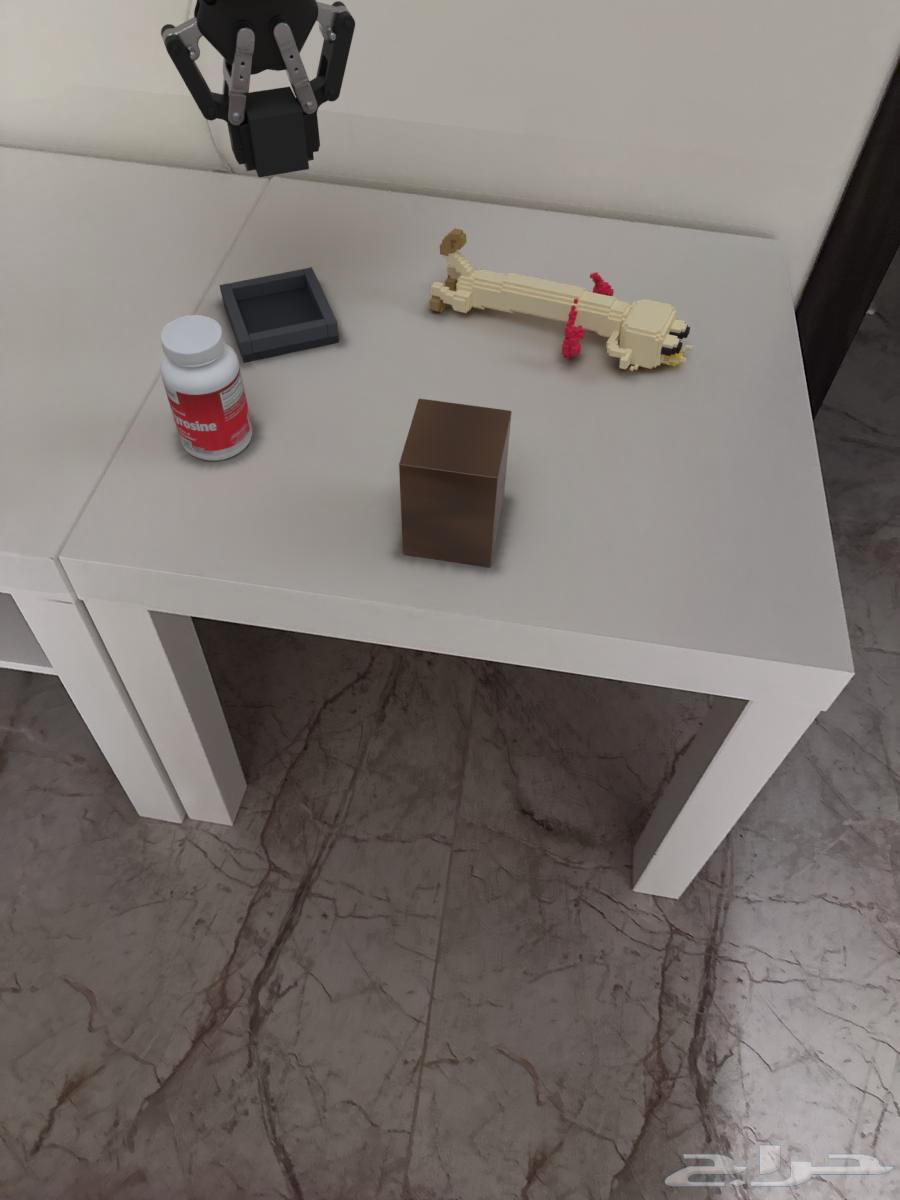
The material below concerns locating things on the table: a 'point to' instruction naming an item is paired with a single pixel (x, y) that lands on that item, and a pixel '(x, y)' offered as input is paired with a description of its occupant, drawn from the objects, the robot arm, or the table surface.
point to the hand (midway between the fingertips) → (277, 159)
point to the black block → (276, 131)
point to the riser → (453, 481)
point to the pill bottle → (204, 388)
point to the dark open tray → (279, 314)
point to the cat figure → (566, 309)
